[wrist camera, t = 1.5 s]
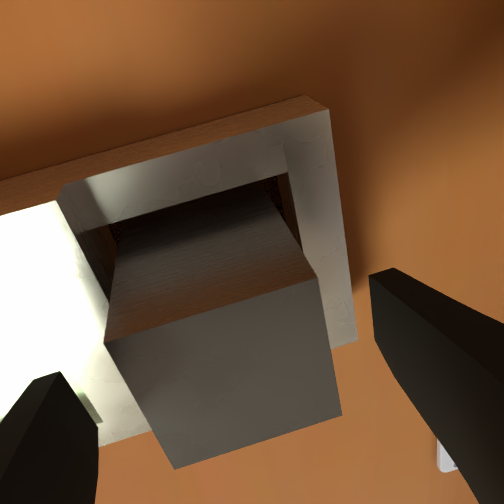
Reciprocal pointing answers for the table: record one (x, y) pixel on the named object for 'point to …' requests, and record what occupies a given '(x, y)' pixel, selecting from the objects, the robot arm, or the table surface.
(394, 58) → the table surface
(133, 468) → the table surface
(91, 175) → the grey tray holder
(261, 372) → the gray metal block
